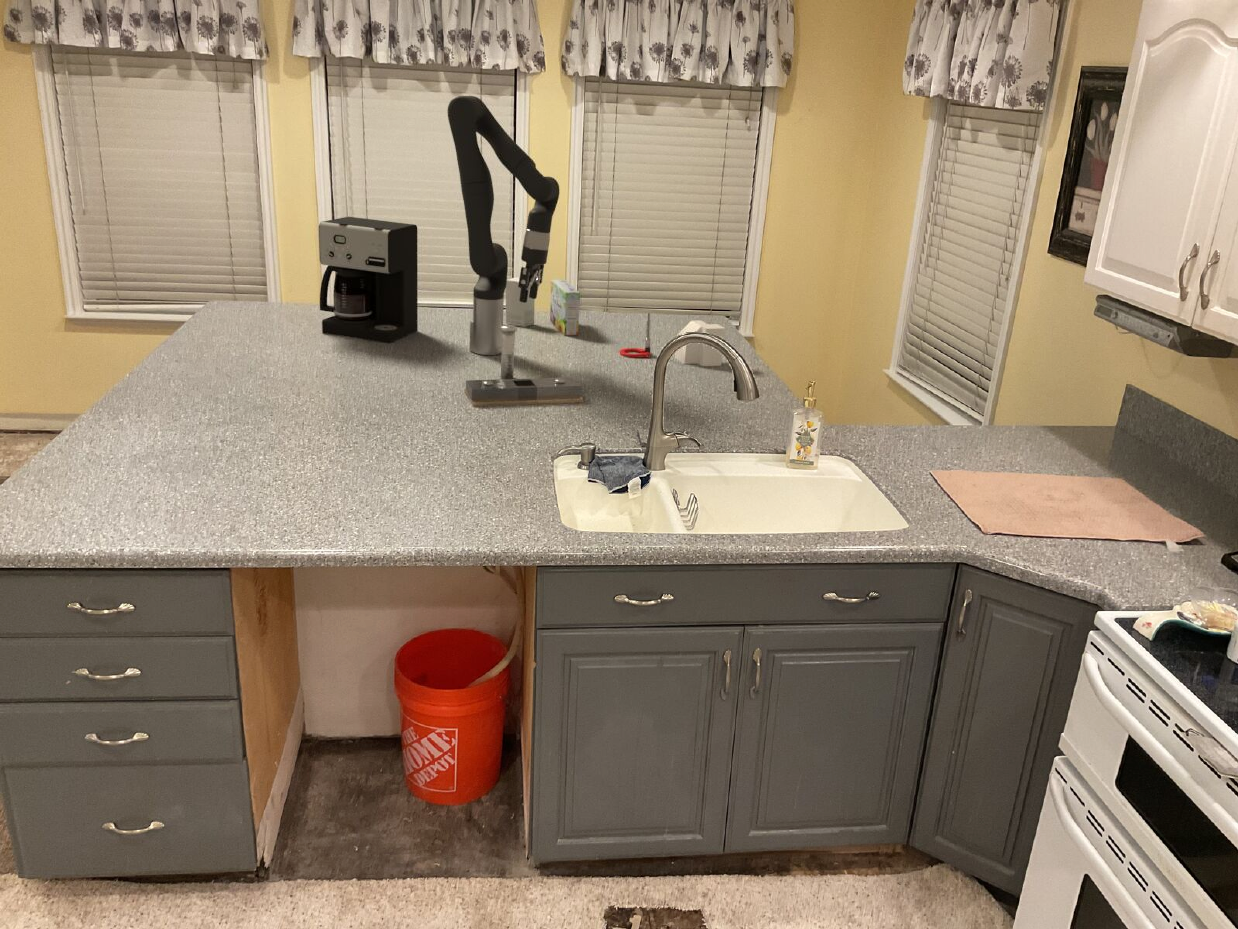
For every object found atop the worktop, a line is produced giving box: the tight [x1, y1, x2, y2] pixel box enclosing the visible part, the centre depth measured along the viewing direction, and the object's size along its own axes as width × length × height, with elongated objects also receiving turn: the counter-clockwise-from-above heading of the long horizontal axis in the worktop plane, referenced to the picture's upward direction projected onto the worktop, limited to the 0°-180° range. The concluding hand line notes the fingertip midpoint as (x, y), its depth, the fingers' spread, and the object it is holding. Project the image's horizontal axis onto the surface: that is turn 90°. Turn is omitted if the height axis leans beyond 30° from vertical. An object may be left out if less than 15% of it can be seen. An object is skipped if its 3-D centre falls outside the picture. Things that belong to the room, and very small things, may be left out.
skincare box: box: [505, 276, 536, 328], centre depth 349 cm, size 8×7×16 cm
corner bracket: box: [674, 319, 726, 367], centre depth 320 cm, size 11×11×12 cm
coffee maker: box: [318, 216, 419, 344], centre depth 322 cm, size 28×20×35 cm
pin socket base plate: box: [463, 376, 584, 407], centre depth 274 cm, size 30×12×5 cm, turn 109°
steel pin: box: [500, 324, 518, 379], centre depth 288 cm, size 5×5×15 cm
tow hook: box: [619, 312, 652, 359], centre depth 323 cm, size 9×14×10 cm
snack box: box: [549, 279, 581, 337], centre depth 348 cm, size 21×6×15 cm, turn 17°
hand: (527, 300), depth 303 cm, fingers open, 8 cm apart
